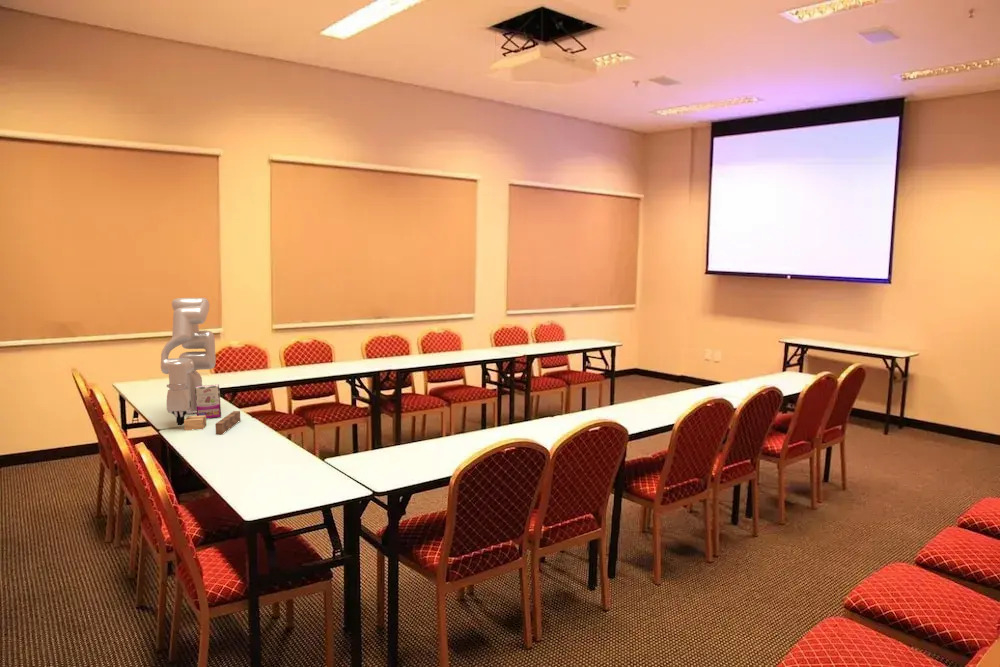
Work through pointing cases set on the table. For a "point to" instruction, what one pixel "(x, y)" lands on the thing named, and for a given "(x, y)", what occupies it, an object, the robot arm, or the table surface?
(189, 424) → the block
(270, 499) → the table surface
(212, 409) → the candy bar box
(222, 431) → the rail
